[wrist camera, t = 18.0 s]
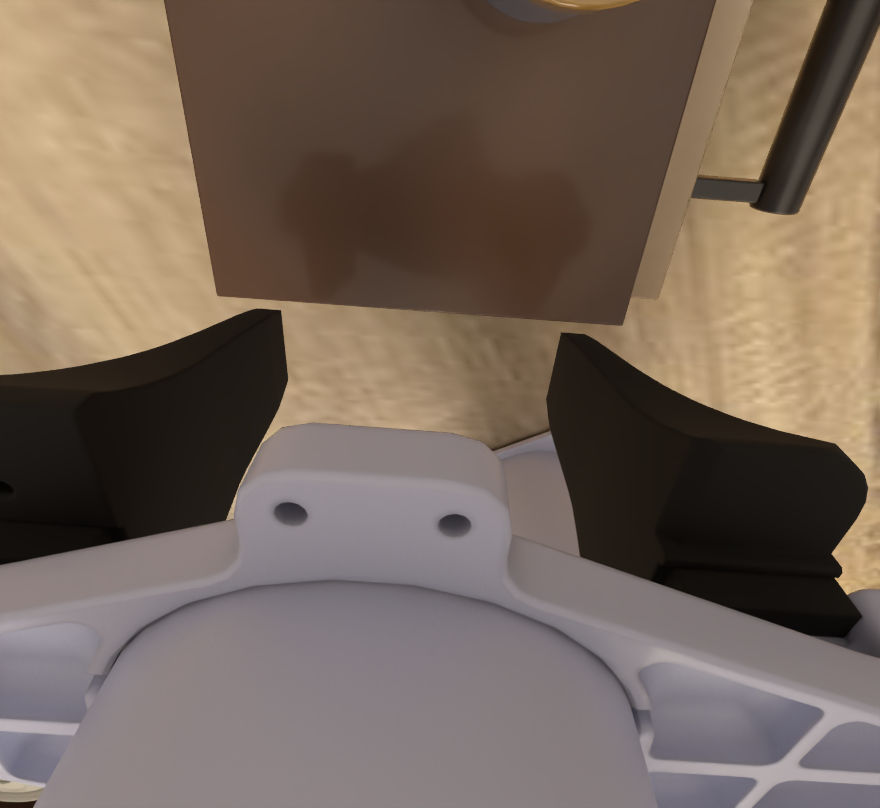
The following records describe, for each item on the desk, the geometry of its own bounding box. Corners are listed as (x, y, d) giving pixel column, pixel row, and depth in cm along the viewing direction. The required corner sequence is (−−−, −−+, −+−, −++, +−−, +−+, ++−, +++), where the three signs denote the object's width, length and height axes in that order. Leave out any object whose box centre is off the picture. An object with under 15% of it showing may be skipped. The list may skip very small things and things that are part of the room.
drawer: (876, -144, 14) (1039, -224, 10) (722, 261, 20) (787, 310, 16) (304, -196, 14) (244, -297, 10) (326, 231, 20) (294, 273, 16)
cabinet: (678, -182, 14) (811, -326, 9) (580, 259, 21) (623, 326, 16) (228, -223, 14) (91, -396, 9) (277, 236, 21) (216, 296, 16)
